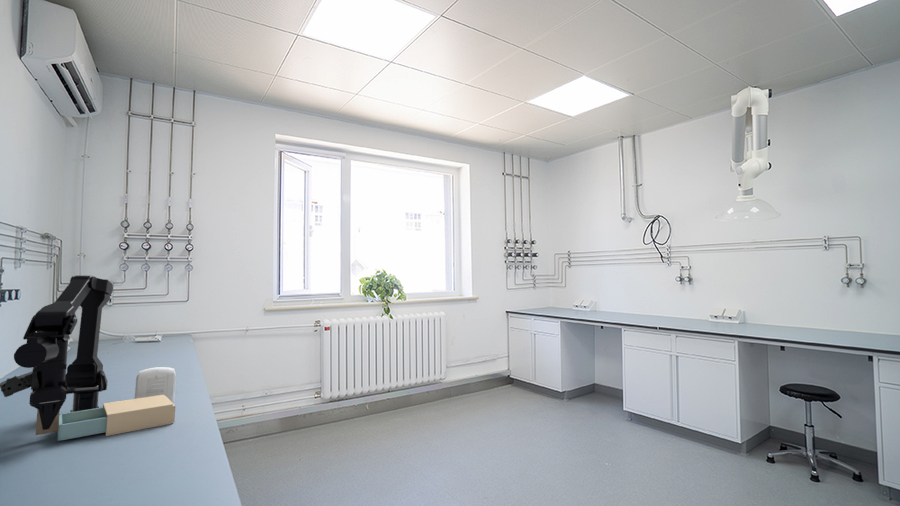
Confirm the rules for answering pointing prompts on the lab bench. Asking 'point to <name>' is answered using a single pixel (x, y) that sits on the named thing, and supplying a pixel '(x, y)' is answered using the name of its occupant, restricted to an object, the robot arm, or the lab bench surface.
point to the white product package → (156, 383)
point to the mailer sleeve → (138, 414)
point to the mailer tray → (75, 424)
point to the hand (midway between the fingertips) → (46, 424)
